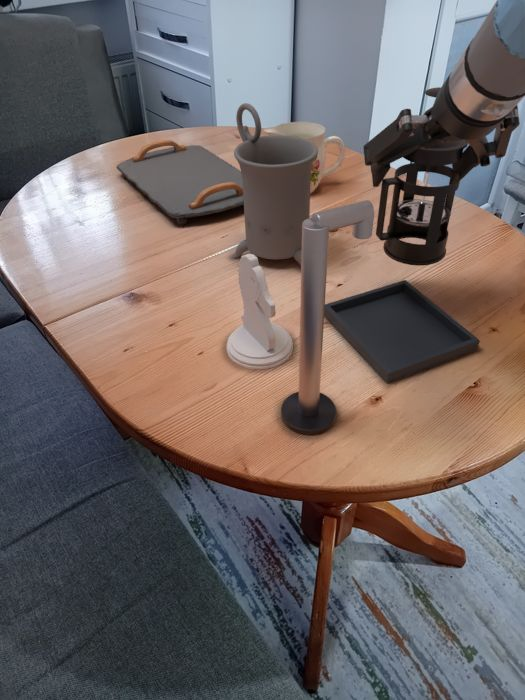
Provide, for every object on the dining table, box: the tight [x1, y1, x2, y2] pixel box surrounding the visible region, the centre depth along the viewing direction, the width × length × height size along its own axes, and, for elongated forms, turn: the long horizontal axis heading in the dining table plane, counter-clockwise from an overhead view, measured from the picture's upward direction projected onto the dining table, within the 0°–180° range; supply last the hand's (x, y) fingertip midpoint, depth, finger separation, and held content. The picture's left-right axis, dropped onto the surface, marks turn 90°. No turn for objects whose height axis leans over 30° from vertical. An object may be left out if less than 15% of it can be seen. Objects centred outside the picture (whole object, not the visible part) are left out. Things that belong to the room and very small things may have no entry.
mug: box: [231, 102, 318, 267], centre depth 92 cm, size 19×15×25 cm
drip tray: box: [324, 279, 481, 385], centre depth 81 cm, size 16×18×2 cm
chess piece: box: [226, 253, 294, 371], centre depth 75 cm, size 10×10×15 cm
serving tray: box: [115, 139, 244, 227], centre depth 121 cm, size 39×23×6 cm, turn 32°
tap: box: [280, 199, 375, 436], centre depth 60 cm, size 10×7×28 cm
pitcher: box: [262, 121, 346, 194], centre depth 117 cm, size 11×18×14 cm, turn 102°
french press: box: [375, 86, 469, 266], centre depth 76 cm, size 12×9×23 cm
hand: (415, 175), depth 78 cm, fingers closed on french press, 11 cm apart
